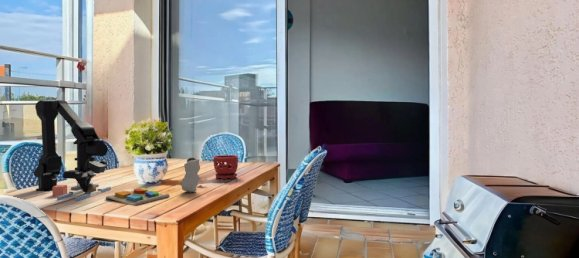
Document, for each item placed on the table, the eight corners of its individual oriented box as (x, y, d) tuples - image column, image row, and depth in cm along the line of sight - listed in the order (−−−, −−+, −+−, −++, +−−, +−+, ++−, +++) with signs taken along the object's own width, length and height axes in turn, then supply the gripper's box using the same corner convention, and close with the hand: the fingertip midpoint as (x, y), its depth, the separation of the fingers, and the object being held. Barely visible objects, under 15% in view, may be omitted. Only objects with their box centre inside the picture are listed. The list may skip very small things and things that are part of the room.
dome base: (71, 189, 169) (70, 187, 169) (83, 185, 177) (82, 183, 177) (87, 190, 168) (87, 188, 168) (98, 186, 176) (98, 184, 176)
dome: (73, 187, 170) (73, 182, 170) (83, 184, 176) (83, 180, 176) (86, 188, 169) (86, 183, 169) (96, 185, 175) (95, 180, 175)
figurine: (204, 190, 170) (204, 157, 169) (190, 195, 161) (190, 160, 160) (189, 188, 173) (189, 156, 173) (174, 193, 164) (174, 159, 164)
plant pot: (241, 176, 208) (241, 154, 207) (232, 180, 195) (232, 157, 194) (219, 175, 211) (219, 153, 210) (209, 179, 198) (209, 156, 197)
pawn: (82, 193, 161) (82, 184, 160) (89, 191, 165) (89, 182, 165) (91, 194, 160) (91, 184, 160) (98, 192, 164) (98, 183, 164)
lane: (57, 199, 150) (56, 195, 150) (91, 188, 170) (91, 185, 170) (78, 200, 148) (78, 196, 148) (110, 189, 169) (110, 186, 169)
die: (52, 196, 156) (52, 186, 155) (57, 194, 159) (57, 184, 159) (62, 196, 156) (62, 186, 156) (67, 194, 160) (67, 184, 160)
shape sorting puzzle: (135, 207, 142) (135, 198, 142) (104, 200, 151) (104, 192, 151) (171, 198, 157) (171, 190, 157) (140, 192, 166) (140, 185, 166)
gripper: (87, 158, 148) (87, 197, 149) (115, 153, 167) (115, 188, 167) (61, 157, 150) (62, 196, 150) (92, 152, 168) (92, 187, 169)
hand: (85, 191), depth 159 cm, fingers closed
